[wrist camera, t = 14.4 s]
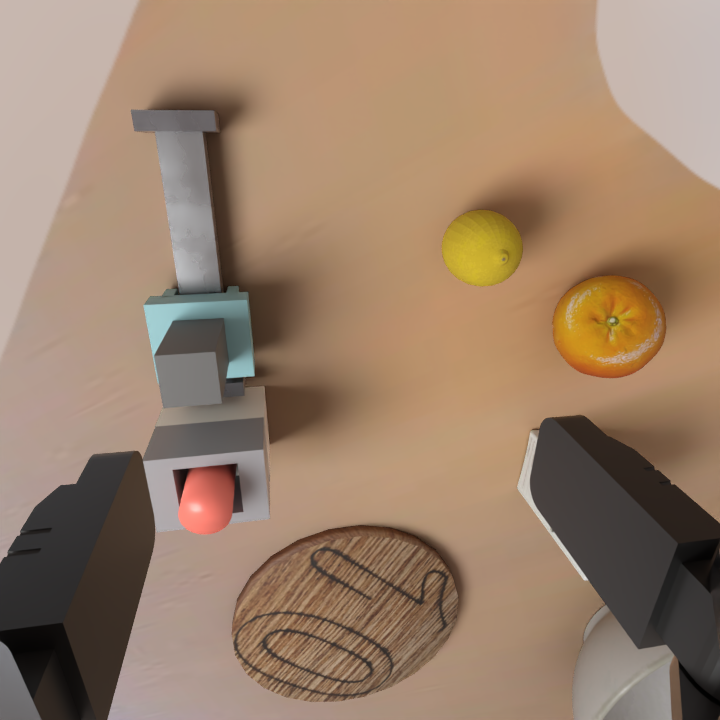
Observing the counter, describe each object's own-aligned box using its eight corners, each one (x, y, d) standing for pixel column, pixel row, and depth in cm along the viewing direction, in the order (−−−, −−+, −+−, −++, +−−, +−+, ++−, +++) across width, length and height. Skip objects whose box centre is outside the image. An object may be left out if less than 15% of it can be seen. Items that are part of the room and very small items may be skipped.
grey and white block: (168, 393, 42) (141, 461, 33) (264, 386, 43) (264, 449, 34) (178, 453, 44) (156, 532, 35) (269, 444, 45) (270, 518, 36)
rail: (142, 112, 34) (130, 109, 31) (218, 113, 34) (213, 110, 31) (185, 383, 42) (179, 401, 39) (245, 378, 42) (244, 395, 40)
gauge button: (187, 444, 37) (174, 495, 31) (234, 440, 37) (229, 489, 32) (194, 481, 38) (182, 537, 33) (239, 477, 39) (234, 530, 33)
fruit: (546, 265, 43) (603, 288, 36) (633, 267, 45) (704, 291, 37) (528, 354, 46) (576, 393, 39) (609, 354, 48) (670, 391, 41)
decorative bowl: (741, 620, 69) (830, 708, 59) (579, 718, 72) (636, 820, 61) (683, 508, 58) (779, 591, 47) (495, 630, 61) (545, 735, 50)
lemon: (430, 276, 42) (465, 303, 34) (428, 208, 39) (464, 222, 32) (492, 267, 42) (539, 292, 35) (493, 200, 40) (544, 212, 33)
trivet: (319, 487, 49) (321, 499, 47) (495, 573, 58) (502, 586, 56) (189, 651, 54) (186, 668, 52) (367, 706, 63) (370, 722, 61)
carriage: (155, 289, 38) (118, 337, 28) (248, 285, 39) (243, 330, 29) (167, 361, 40) (137, 428, 31) (255, 355, 41) (252, 418, 32)
